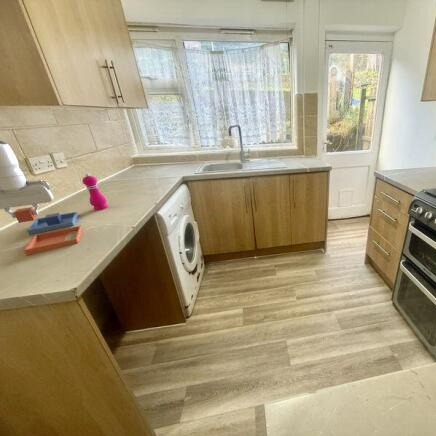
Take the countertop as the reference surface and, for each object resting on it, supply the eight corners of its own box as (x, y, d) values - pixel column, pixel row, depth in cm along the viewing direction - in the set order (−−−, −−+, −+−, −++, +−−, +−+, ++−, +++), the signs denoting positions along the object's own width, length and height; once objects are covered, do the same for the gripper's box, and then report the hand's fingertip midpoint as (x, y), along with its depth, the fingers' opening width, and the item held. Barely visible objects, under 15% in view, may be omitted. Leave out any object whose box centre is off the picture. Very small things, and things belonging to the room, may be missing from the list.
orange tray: (26, 256, 90) (23, 250, 89) (37, 240, 102) (34, 234, 101) (78, 244, 97) (76, 238, 96) (83, 230, 109) (81, 225, 108)
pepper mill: (112, 207, 135) (98, 171, 127) (98, 212, 129) (82, 175, 121) (104, 205, 138) (90, 171, 130) (90, 210, 132) (74, 174, 124)
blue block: (48, 226, 112) (44, 218, 111) (50, 223, 116) (46, 214, 114) (61, 224, 115) (57, 215, 113) (63, 221, 118) (59, 212, 116)
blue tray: (29, 235, 106) (27, 230, 105) (38, 223, 118) (36, 218, 116) (74, 226, 113) (72, 221, 112) (78, 216, 125) (76, 211, 124)
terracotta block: (18, 222, 98) (13, 212, 96) (22, 219, 101) (17, 209, 99) (34, 220, 100) (29, 210, 98) (37, 216, 103) (32, 206, 102)
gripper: (48, 177, 102) (60, 208, 108) (-25, 185, 92) (-7, 218, 97) (44, 180, 97) (58, 213, 103) (-33, 189, 87) (-13, 224, 92)
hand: (26, 215), depth 100 cm, fingers closed on terracotta block, 4 cm apart
